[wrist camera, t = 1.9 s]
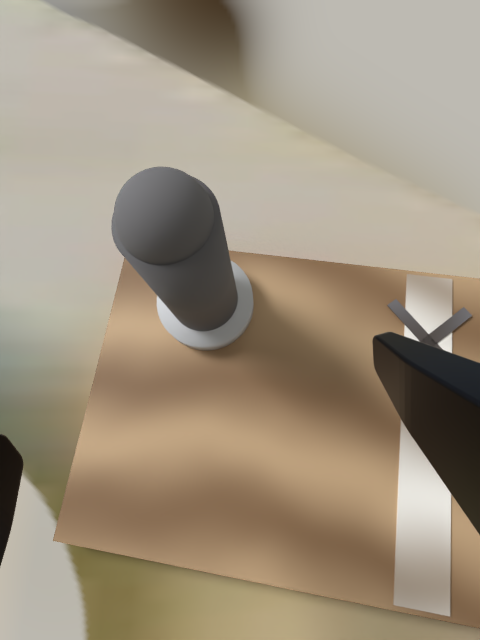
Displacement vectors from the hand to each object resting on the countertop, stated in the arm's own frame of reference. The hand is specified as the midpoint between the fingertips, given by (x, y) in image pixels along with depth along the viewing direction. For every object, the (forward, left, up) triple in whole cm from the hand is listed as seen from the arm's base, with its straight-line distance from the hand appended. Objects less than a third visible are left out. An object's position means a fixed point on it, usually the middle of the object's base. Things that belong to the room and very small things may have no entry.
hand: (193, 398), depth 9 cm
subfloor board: (+1, -4, -12) cm, 13 cm away
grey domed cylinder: (+5, +2, -11) cm, 12 cm away
